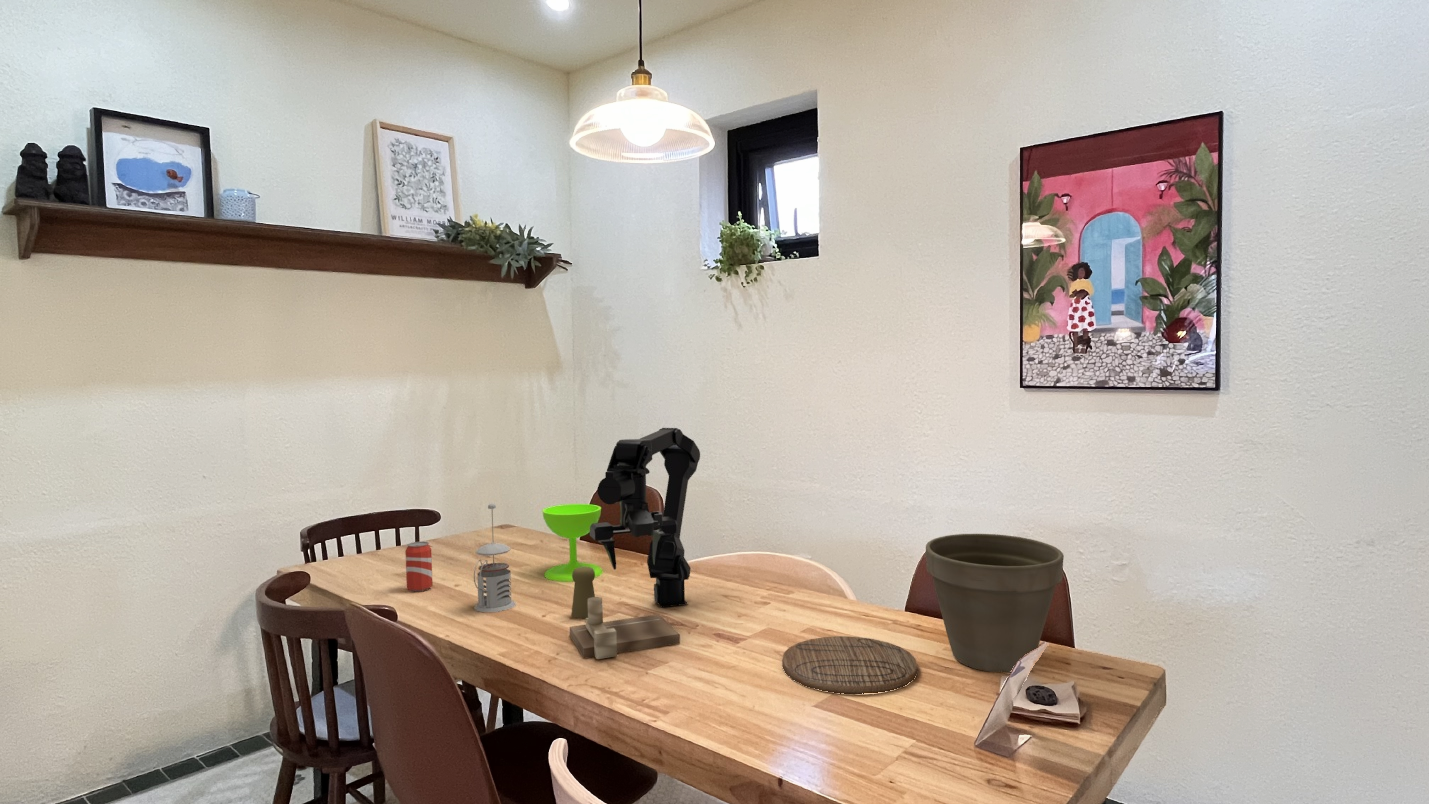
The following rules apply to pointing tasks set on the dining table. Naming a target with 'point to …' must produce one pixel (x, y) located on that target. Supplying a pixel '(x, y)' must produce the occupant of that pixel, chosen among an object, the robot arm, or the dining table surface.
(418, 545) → the beverage can
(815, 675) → the trivet
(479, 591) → the french press
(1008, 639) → the plant pot
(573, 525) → the wineglass
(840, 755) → the dining table surface
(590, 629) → the lever handle
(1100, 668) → the dining table surface
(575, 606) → the cork
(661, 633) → the board
